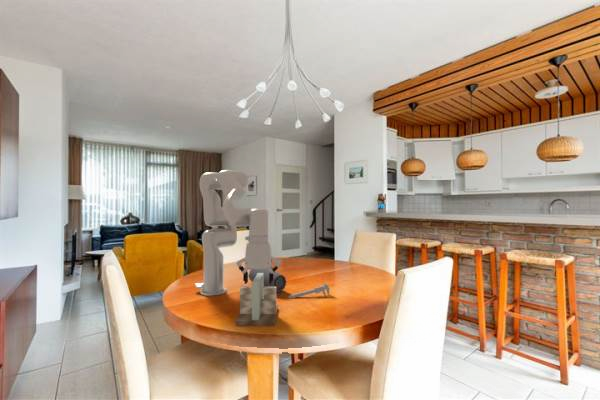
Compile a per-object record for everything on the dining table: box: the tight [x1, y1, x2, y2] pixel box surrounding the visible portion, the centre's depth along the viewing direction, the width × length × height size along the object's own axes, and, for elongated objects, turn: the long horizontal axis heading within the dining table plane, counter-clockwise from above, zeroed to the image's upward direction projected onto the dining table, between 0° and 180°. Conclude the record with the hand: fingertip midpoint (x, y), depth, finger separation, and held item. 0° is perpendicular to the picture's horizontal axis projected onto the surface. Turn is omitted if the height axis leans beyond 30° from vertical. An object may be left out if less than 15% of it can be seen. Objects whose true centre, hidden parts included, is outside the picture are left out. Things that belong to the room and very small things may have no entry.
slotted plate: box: [251, 273, 264, 320], centre depth 111 cm, size 14×2×14 cm, turn 0°
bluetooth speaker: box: [248, 269, 287, 292], centre depth 147 cm, size 23×9×10 cm, turn 42°
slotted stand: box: [235, 285, 278, 326], centre depth 111 cm, size 14×16×12 cm
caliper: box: [287, 282, 330, 299], centre depth 135 cm, size 20×1×6 cm, turn 103°
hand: (258, 282), depth 111 cm, fingers open, 9 cm apart
